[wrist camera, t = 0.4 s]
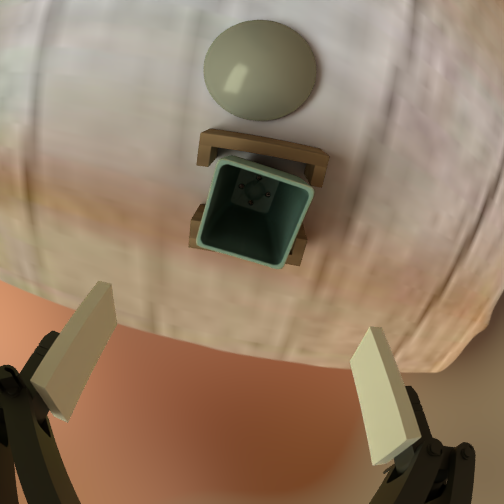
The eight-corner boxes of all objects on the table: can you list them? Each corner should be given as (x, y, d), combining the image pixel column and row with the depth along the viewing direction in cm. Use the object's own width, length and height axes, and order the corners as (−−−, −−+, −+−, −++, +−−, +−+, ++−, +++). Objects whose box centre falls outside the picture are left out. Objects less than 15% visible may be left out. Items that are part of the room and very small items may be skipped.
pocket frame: (210, 128, 30) (200, 132, 26) (320, 148, 31) (329, 156, 26) (197, 228, 36) (188, 247, 32) (295, 245, 37) (299, 266, 32)
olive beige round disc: (215, 16, 23) (214, 14, 23) (323, 34, 24) (324, 32, 23) (197, 112, 29) (195, 112, 28) (303, 130, 30) (304, 130, 29)
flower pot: (304, 167, 32) (317, 189, 24) (278, 232, 36) (281, 271, 28) (230, 142, 31) (218, 156, 23) (210, 211, 35) (194, 245, 27)
